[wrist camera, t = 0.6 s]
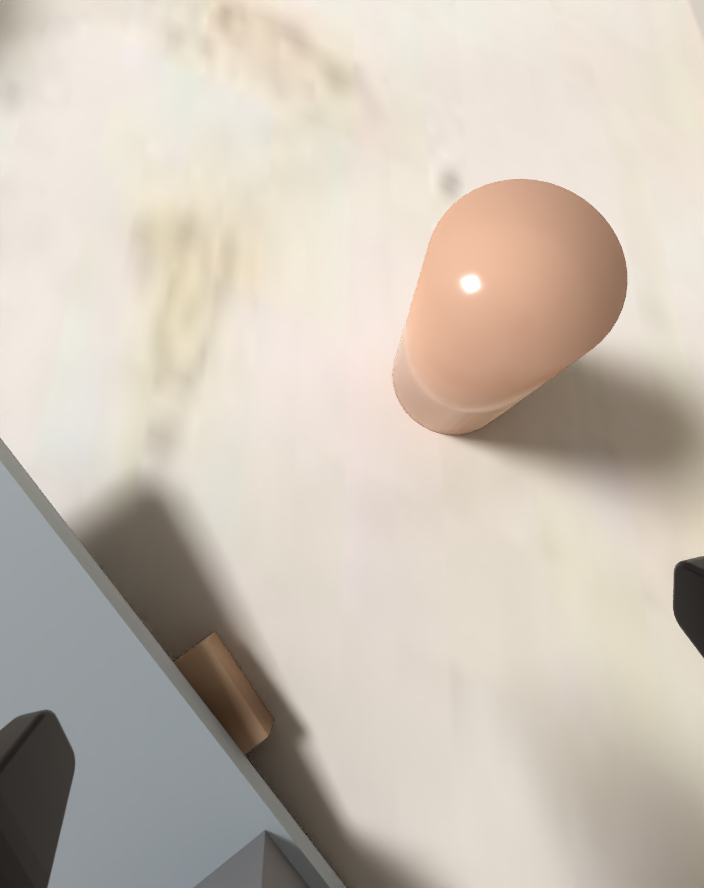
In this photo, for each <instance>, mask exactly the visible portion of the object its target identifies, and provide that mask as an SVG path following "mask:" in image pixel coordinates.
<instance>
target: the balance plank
mask: <svg viewBox="0 0 704 888" xmlns="http://www.w3.org/2000/svg"><path fill="white" fill-rule="evenodd" d="M45 709H46V710H51V711H52V712H54V713H55V714H56V716H57V718H58V720H59V722H60V724H61V726H62V728H63V730H64V732H65V734H66V736H67V738H68V740H69V742H70V744H71V746H72V748H73V751H74V754H75V772H74V777H73V781H72V785H71V790H70V794H69V798H68V803H67V807H66V811H65V815H64V820H63V824H62V828H61V833H60V837H59V841H58V846H57V850H56V854H55V859H54V863H53V867H52V871H51V876H50V880H49V884H48V888H346V886H345V885H344V884H343V883H342V881H341V880H340V879H339V877H338V876H337V875H336V873H335V872H334V871H333V870H332V868H331V867H330V866H329V864H328V863H327V862H326V860H325V859H324V858H323V857H322V855H321V854H320V853H319V851H318V850H317V849H316V847H315V846H314V845H313V844H312V842H311V841H310V840H309V838H308V837H307V836H306V834H305V833H304V832H303V831H302V829H301V828H300V827H299V825H298V824H297V823H296V821H295V820H294V819H293V818H292V816H291V815H290V814H289V812H288V811H287V810H286V808H285V807H284V806H283V805H282V803H281V802H280V801H279V799H278V798H277V797H276V795H275V794H274V793H273V792H272V790H271V789H270V788H269V786H268V785H267V784H266V782H265V781H264V780H263V779H262V777H261V776H260V775H259V773H258V772H257V771H256V769H255V768H254V767H253V766H252V764H251V763H250V762H249V760H248V759H247V758H246V756H245V755H244V754H243V753H242V751H241V750H240V749H239V747H238V746H237V745H236V743H235V742H234V741H233V740H232V738H231V737H230V736H229V734H228V733H227V732H226V730H225V729H224V728H223V727H222V725H221V724H220V723H219V721H218V720H217V719H216V717H215V716H214V715H213V714H212V712H211V711H210V710H209V708H208V707H207V706H206V704H205V703H204V702H203V701H202V699H201V698H200V697H199V695H198V694H197V693H196V691H195V690H194V689H193V688H192V686H191V685H190V684H189V682H188V681H187V680H186V678H185V677H184V676H183V675H182V673H181V672H180V671H179V669H178V668H177V667H176V665H175V664H174V663H173V662H172V660H171V659H170V658H169V656H168V655H167V654H166V652H165V651H164V650H163V649H162V647H161V646H160V645H159V643H158V642H157V641H156V639H155V638H154V637H153V636H152V634H151V633H150V632H149V630H148V629H147V628H146V626H145V625H144V624H143V623H142V621H141V620H140V619H139V617H138V616H137V615H136V613H135V612H134V611H133V610H132V608H131V607H130V606H129V604H128V603H127V602H126V600H125V599H124V598H123V597H122V595H121V594H120V593H119V591H118V590H117V589H116V587H115V586H114V585H113V584H112V582H111V581H110V580H109V578H108V577H107V576H106V574H105V573H104V572H103V571H102V569H101V568H100V567H99V565H98V564H97V563H96V561H95V560H94V559H93V558H92V556H91V555H90V554H89V552H88V551H87V550H86V548H85V547H84V546H83V545H82V543H81V542H80V541H79V539H78V538H77V537H76V535H75V534H74V533H73V532H72V530H71V529H70V528H69V526H68V525H67V524H66V522H65V521H64V520H63V519H62V517H61V516H60V515H59V513H58V512H57V511H56V509H55V508H54V507H53V506H52V504H51V503H50V502H49V500H48V499H47V498H46V496H45V495H44V494H43V493H42V491H41V490H40V489H39V487H38V486H37V485H36V483H35V482H34V481H33V480H32V478H31V477H30V476H29V474H28V473H27V472H26V470H25V469H24V468H23V467H22V465H21V464H20V463H19V461H18V460H17V459H16V457H15V456H14V455H13V454H12V452H11V451H10V450H9V448H8V447H7V446H6V445H5V443H4V442H3V441H2V439H1V438H0V730H1V729H2V728H3V727H4V726H6V725H7V724H8V723H9V722H10V721H12V720H13V719H14V718H16V717H18V716H20V715H23V714H27V713H31V712H35V711H40V710H45Z"/></svg>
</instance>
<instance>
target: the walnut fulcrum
mask: <svg viewBox="0 0 704 888" xmlns="http://www.w3.org/2000/svg"><path fill="white" fill-rule="evenodd" d="M173 663H174V664H175V665H176V667H177V668H178V669H179V671H180V672H181V673H182V675H183V676H184V677H185V678H186V680H187V681H188V682H189V684H190V685H191V686H192V688H193V689H194V690H195V691H196V693H197V694H198V695H199V697H200V698H201V699H202V701H203V702H204V703H205V704H206V706H207V707H208V708H209V710H210V711H211V712H212V714H213V715H214V716H215V717H216V719H217V720H218V721H219V723H220V724H221V725H222V727H223V728H224V729H225V730H226V732H227V733H228V734H229V736H230V737H231V738H232V740H233V741H234V742H235V743H236V745H237V746H238V747H239V749H240V750H241V751H242V753H243V754H244V755H245V754H247V753H248V752H249V751H251V750H252V749H253V748H254V747H256V746H257V745H258V744H260V743H261V742H262V741H263V740H265V739H266V738H267V737H268V736H269V734H270V731H271V728H272V726H273V723H274V719H273V717H272V716H271V714H270V713H269V711H268V710H267V708H266V707H265V705H264V704H263V702H262V701H261V699H260V698H259V696H258V695H257V693H256V692H255V690H254V689H253V687H252V686H251V684H250V683H249V681H248V680H247V678H246V677H245V675H244V674H243V672H242V671H241V669H240V668H239V666H238V665H237V663H236V662H235V660H234V659H233V657H232V656H231V654H230V653H229V651H228V650H227V648H226V647H225V645H224V644H223V642H222V641H221V639H220V638H219V636H218V635H217V633H216V632H215V631H214V632H213V633H212V634H210V635H209V636H208V637H206V638H205V639H204V640H202V641H201V642H200V643H198V644H197V645H196V646H194V647H193V648H192V649H190V650H189V651H188V652H186V653H185V654H184V655H182V656H181V657H180V658H178V659H177V660H176V661H174V662H173Z"/></svg>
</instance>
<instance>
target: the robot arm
mask: <svg viewBox="0 0 704 888" xmlns="http://www.w3.org/2000/svg"><path fill="white" fill-rule="evenodd" d="M673 611H674V615H675V618H676V620H677V622H678V624H679V626H680V627H681V629H682V630H683V631H684V633H685V634H686V635H687V637H688V638H689V639H690V641H691V642H692V643H693V645H694V646H695V647H696V649H697V650H698V651H699V653H700V654H701V655H702V657H703V658H704V556H701V557H697V558H692V559H688V560H684V561H681V562H679V563H677V565H676V566H675V568H674V588H673ZM74 772H75V754H74V751H73V748H72V746H71V744H70V742H69V740H68V738H67V736H66V734H65V732H64V730H63V728H62V726H61V724H60V722H59V720H58V718H57V716H56V714H55V713H54V712H52V711H51V710H46V709H45V710H40V711H35V712H31V713H27V714H23V715H20V716H18V717H16V718H14V719H13V720H12V721H10V722H9V723H8V724H7V725H6V726H4V727H3V728H2V729H1V730H0V888H48V884H49V880H50V876H51V871H52V867H53V863H54V859H55V854H56V850H57V846H58V841H59V837H60V833H61V828H62V824H63V820H64V815H65V811H66V807H67V803H68V798H69V794H70V790H71V785H72V781H73V777H74Z"/></svg>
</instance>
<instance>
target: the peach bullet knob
mask: <svg viewBox="0 0 704 888" xmlns="http://www.w3.org/2000/svg"><path fill="white" fill-rule="evenodd" d="M626 291H627V268H626V261H625V257H624V254H623V250H622V247H621V245H620V243H619V240H618V238H617V236H616V234H615V233H614V231H613V229H612V228H611V226H610V225H609V223H608V222H607V221H606V220H605V218H604V217H603V216H602V215H601V214H600V213H599V212H598V211H597V210H596V209H595V208H594V207H593V206H592V205H591V204H589V203H588V202H587V201H585V200H584V199H583V198H581V197H579V196H578V195H576V194H575V193H573V192H571V191H569V190H567V189H564V188H562V187H560V186H557V185H554V184H551V183H547V182H542V181H537V180H528V179H512V180H504V181H498V182H494V183H491V184H487V185H484V186H482V187H480V188H477V189H475V190H473V191H471V192H470V193H468V194H466V195H465V196H463V197H462V198H461V199H459V200H458V201H457V202H456V203H454V204H453V205H452V206H451V207H450V208H449V209H448V210H447V212H446V213H445V214H444V215H443V217H442V218H441V219H440V221H439V222H438V224H437V226H436V228H435V230H434V232H433V234H432V236H431V239H430V242H429V245H428V248H427V252H426V255H425V259H424V262H423V265H422V269H421V272H420V276H419V279H418V282H417V286H416V289H415V293H414V296H413V299H412V303H411V306H410V310H409V313H408V317H407V320H406V323H405V327H404V330H403V334H402V337H401V340H400V344H399V347H398V351H397V354H396V357H395V361H394V366H393V385H394V390H395V393H396V396H397V398H398V400H399V402H400V404H401V406H402V407H403V409H404V410H405V411H406V413H407V414H408V415H409V416H410V417H411V418H412V419H413V420H415V421H416V422H417V423H419V424H420V425H422V426H423V427H425V428H427V429H429V430H432V431H435V432H438V433H442V434H451V435H457V434H465V433H470V432H473V431H476V430H478V429H480V428H482V427H484V426H485V425H487V424H489V423H490V422H491V421H493V420H494V419H496V418H497V417H498V416H500V415H501V414H502V413H504V412H505V411H507V410H508V409H509V408H511V407H512V406H514V405H515V404H516V403H518V402H519V401H521V400H522V399H523V398H525V397H526V396H528V395H529V394H530V393H532V392H533V391H534V390H536V389H537V388H539V387H540V386H541V385H543V384H544V383H546V382H547V381H548V380H550V379H551V378H553V377H554V376H555V375H557V374H558V373H559V372H561V371H562V370H564V369H565V368H566V367H568V366H569V365H571V364H572V363H573V362H575V361H576V360H578V359H579V358H580V357H582V356H583V355H585V354H586V353H587V352H589V351H590V350H591V349H593V348H594V347H595V346H596V345H597V344H599V343H600V342H601V341H602V340H603V339H604V338H605V337H606V335H607V334H608V333H609V332H610V331H611V329H612V328H613V326H614V324H615V323H616V321H617V320H618V317H619V315H620V313H621V311H622V308H623V305H624V301H625V297H626Z"/></svg>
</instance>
